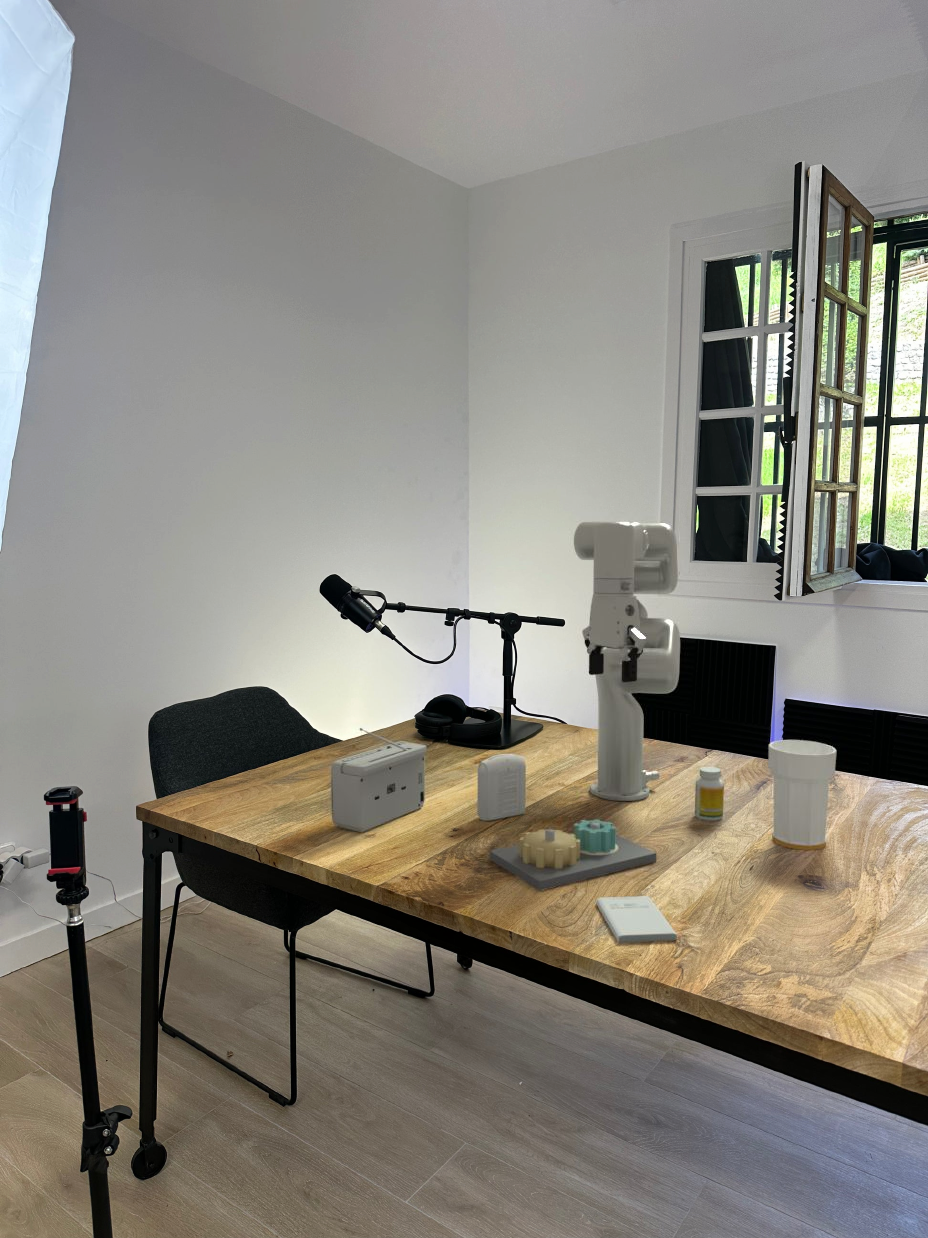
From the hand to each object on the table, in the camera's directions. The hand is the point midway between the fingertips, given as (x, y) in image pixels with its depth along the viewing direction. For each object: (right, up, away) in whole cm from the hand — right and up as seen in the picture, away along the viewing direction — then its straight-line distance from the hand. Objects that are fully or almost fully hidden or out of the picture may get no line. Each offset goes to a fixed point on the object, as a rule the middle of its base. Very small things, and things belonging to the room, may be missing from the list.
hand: (612, 677), depth 162 cm
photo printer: (-21, -28, +7) cm, 36 cm away
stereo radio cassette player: (-44, -28, +6) cm, 53 cm away
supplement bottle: (+20, -28, +6) cm, 35 cm away
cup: (+32, -29, -8) cm, 44 cm away
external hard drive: (-4, -33, -39) cm, 52 cm away
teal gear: (-6, -28, -14) cm, 32 cm away
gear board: (-10, -30, -17) cm, 36 cm away
